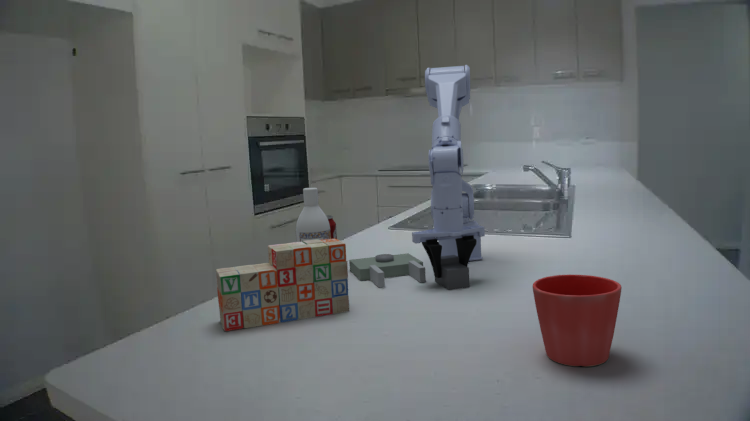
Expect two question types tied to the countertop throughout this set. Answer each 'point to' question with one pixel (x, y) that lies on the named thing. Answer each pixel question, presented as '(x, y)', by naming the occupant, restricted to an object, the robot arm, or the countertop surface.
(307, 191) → the bath foam
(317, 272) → the stack of blocks
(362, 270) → the forked grey-green block
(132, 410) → the countertop surface
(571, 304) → the flower pot
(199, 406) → the countertop surface
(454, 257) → the grey block with ledge
